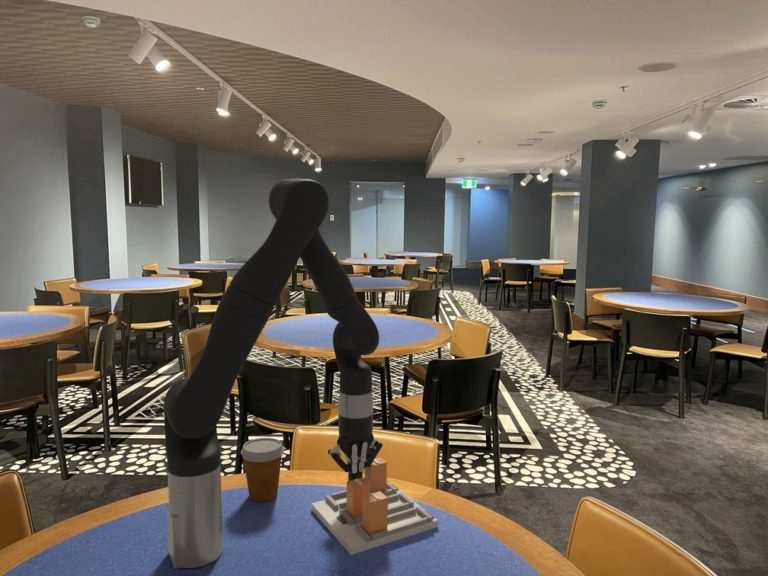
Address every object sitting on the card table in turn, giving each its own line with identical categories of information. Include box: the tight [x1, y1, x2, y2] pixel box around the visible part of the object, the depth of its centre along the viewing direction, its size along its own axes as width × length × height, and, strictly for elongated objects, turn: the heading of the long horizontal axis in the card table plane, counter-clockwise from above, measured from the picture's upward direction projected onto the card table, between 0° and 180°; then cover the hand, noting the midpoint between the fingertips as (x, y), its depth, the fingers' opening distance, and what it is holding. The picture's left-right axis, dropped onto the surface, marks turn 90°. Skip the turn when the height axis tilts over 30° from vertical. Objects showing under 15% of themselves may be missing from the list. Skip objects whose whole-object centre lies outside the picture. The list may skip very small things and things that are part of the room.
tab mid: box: [346, 476, 370, 520], centre depth 115 cm, size 4×3×7 cm
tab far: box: [364, 457, 388, 494], centre depth 125 cm, size 4×3×7 cm
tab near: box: [362, 491, 388, 537], centre depth 109 cm, size 4×3×7 cm
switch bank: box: [310, 480, 439, 556], centre depth 117 cm, size 20×19×2 cm
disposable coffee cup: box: [240, 437, 285, 503], centre depth 126 cm, size 10×10×12 cm
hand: (355, 486), depth 122 cm, fingers closed
